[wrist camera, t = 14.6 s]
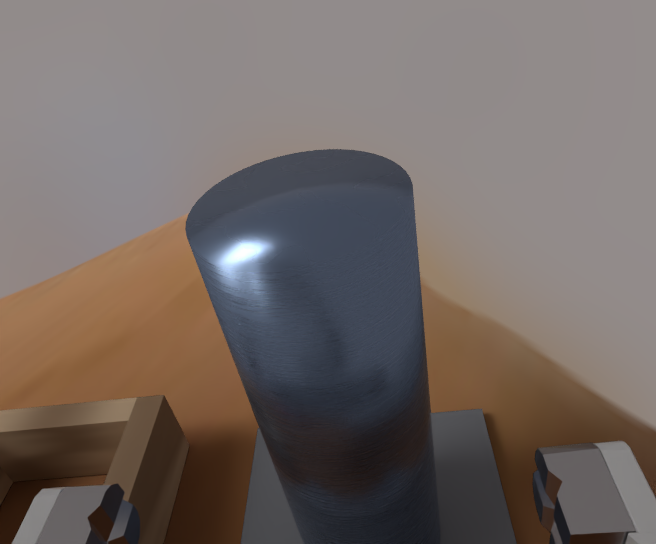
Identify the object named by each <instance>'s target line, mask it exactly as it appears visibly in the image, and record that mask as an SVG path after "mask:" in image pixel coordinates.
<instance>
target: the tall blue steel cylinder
mask: <svg viewBox="0 0 656 544" xmlns="http://www.w3.org/2000/svg"><path fill="white" fill-rule="evenodd" d="M186 235H187V238H188V241H189V244H190V246H191V249H192V252H193V254H194V257H195V259H196V262H197V265H198V267H199V270H200V273H201V275H202V278H203V281H204V283H205V286H206V288H207V291H208V294H209V296H210V299H211V302H212V304H213V307H214V309H215V312H216V315H217V317H218V320H219V323H220V325H221V328H222V331H223V333H224V336H225V338H226V341H227V344H228V346H229V349H230V352H231V354H232V357H233V360H234V362H235V365H236V367H237V370H238V373H239V375H240V378H241V381H242V383H243V386H244V388H245V391H246V394H247V396H248V399H249V402H250V404H251V407H252V410H253V412H254V415H255V417H256V420H257V423H258V425H259V428H260V431H261V433H262V436H263V439H264V441H265V444H266V446H267V449H268V452H269V454H270V457H271V460H272V462H273V465H274V468H275V470H276V473H277V475H278V478H279V481H280V483H281V486H282V489H283V491H284V494H285V496H286V499H287V502H288V504H289V507H290V510H291V512H292V515H293V518H294V520H295V523H296V525H297V528H298V531H299V533H300V536H301V539H302V541H303V544H440V534H441V533H440V520H439V508H438V495H437V483H436V470H435V458H434V446H433V433H432V421H431V409H430V396H429V384H428V371H427V359H426V347H425V334H424V322H423V309H422V297H421V285H420V272H419V260H418V247H417V236H416V223H415V210H414V198H413V185H412V182H411V179H410V177H409V175H408V174H407V173H406V171H405V170H404V169H403V168H402V167H401V166H399V165H398V164H396V163H395V162H393V161H391V160H389V159H387V158H384V157H382V156H379V155H376V154H372V153H368V152H362V151H355V150H341V149H340V150H338V149H332V150H331V149H329V150H314V151H306V152H300V153H294V154H289V155H285V156H280V157H277V158H273V159H270V160H266V161H263V162H260V163H257V164H255V165H252V166H250V167H247V168H245V169H243V170H241V171H239V172H236V173H234V174H233V175H231V176H229V177H227V178H225V179H224V180H222V181H221V182H219V183H218V184H216V185H215V186H213V187H212V188H211V189H210V190H208V191H207V192H206V193H205V194H204V195H203V196H202V197H201V198H200V199H199V200H198V201H197V202H196V204H195V205H194V206H193V207H192V209H191V211H190V213H189V215H188V218H187V221H186Z"/></svg>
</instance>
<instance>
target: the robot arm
mask: <svg viewBox="0 0 656 544" xmlns="http://www.w3.org/2000/svg"><path fill="white" fill-rule="evenodd" d="M535 462H536V465H537V468H538V470H537V471H536V472H534V473H533V492H534V500H535V504H536V508H537V512H538V515H539V519H540V522H541V525H542V526H543V527H544V528H546V529H547V530H548V531H549V532H550V533H551V535H550V543H549V544H656V497H655V495H654V493H653V491H652V489H651V487H650V486H649V484H648V482H647V480H646V478H645V476H644V474H643V472H642V470H641V468H640V466H639V464H638V462H637V460H636V458H635V456H634V454H633V452H632V450H631V448H630V447H629V446H628V445H627V444H626V443H625V442H624V441H612V442H601V443H584V444H574V445H564V446H554V447H544V448H538V449H537V450H536V453H535ZM124 493H125V492H124V491H123V489H122V488H121V487H120V486H119V484H118V483H115V484H102V485H89V486H76V487H59V488H48V489H42V490H41V491H40V492H39V493H38V494H37V495H36V496H35V498H34V499H33V501H32V503H31V505H30V507H29V510H28V512H27V514H26V516H25V518H24V520H23V522H22V524H21V526H20V528H19V530H18V532H17V534H16V536H15V538H14V540H13V542H12V544H138V541H139V537H140V518H139V514H138V511H137V510H136V508H135V506H134V505H133V504H131V503H129V502H127V501H125V500H123V496H124Z"/></svg>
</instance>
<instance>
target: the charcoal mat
mask: <svg viewBox="0 0 656 544" xmlns="http://www.w3.org/2000/svg"><path fill="white" fill-rule="evenodd" d="M431 421H432V433H433V446H434V458H435V470H436V483H437V495H438V508H439V520H440V533H441V534H440V544H517V543H516V539H515V535H514V531H513V528H512V524H511V520H510V516H509V512H508V508H507V504H506V500H505V497H504V493H503V489H502V485H501V481H500V477H499V473H498V470H497V466H496V462H495V458H494V454H493V450H492V446H491V442H490V439H489V435H488V431H487V427H486V423H485V419H484V415H483V412H482V409H474V410H462V411H451V412H439V413H431ZM241 544H303V541H302V539H301V536H300V533H299V531H298V528H297V525H296V523H295V520H294V518H293V515H292V512H291V510H290V507H289V504H288V502H287V499H286V496H285V494H284V491H283V489H282V486H281V483H280V481H279V478H278V475H277V473H276V470H275V468H274V465H273V462H272V460H271V457H270V454H269V452H268V449H267V446H266V444H265V441H264V439H263V436H262V433H261V431H260V428H258V431H257V437H256V444H255V451H254V457H253V464H252V471H251V477H250V484H249V491H248V497H247V504H246V511H245V517H244V524H243V531H242V537H241Z"/></svg>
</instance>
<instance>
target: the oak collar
mask: <svg viewBox="0 0 656 544" xmlns="http://www.w3.org/2000/svg"><path fill="white" fill-rule="evenodd" d="M188 449H189V443H188V441H187V439H186V437H185V435H184V433H183V431H182V429H181V427H180V425H179V423H178V421H177V420H176V418H175V416H174V414H173V412H172V410H171V408H170V406H169V404H168V402H167V400H166V398H165V396H164V395H158V396H148V397H137V398H127V399H116V400H106V401H96V402H85V403H75V404H64V405H54V406H43V407H33V408H23V409H12V410H2V411H0V505H1V503H2V502H3V500H4V498H5V496H6V494H7V492H8V490H9V489H10V487H11V485H12V483H13V482H16V481H28V480H41V479H53V478H66V477H79V476H91V475H104V474H107V477H106V479H105V482H104V484H115V483H118V484H119V486H120V487H121V488H122V489H123V491H124V492H125V493H124V496H123V500H125V501H127V502H129V503H131V504H133V505H134V506H135V508H136V510H137V511H138V514H139V518H140V537H139V541H138V544H164V540H165V536H166V532H167V529H168V525H169V521H170V517H171V514H172V510H173V506H174V502H175V498H176V495H177V491H178V487H179V483H180V479H181V476H182V472H183V468H184V464H185V460H186V457H187V453H188Z"/></svg>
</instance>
